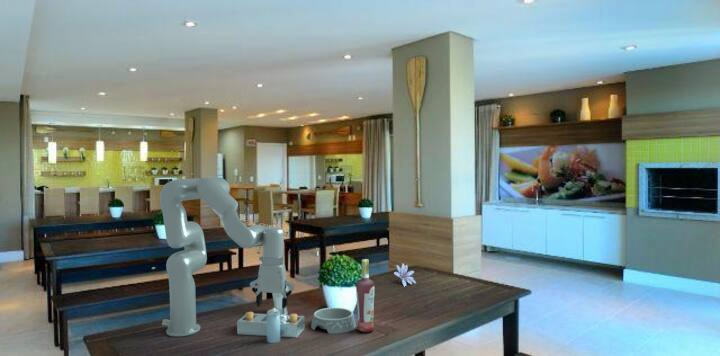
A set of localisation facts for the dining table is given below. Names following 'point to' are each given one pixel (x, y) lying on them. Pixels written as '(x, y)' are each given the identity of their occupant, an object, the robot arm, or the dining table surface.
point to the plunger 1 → (249, 316)
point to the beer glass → (279, 302)
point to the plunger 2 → (293, 318)
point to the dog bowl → (334, 320)
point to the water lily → (404, 274)
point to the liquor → (365, 300)
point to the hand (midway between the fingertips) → (271, 306)
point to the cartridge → (273, 326)
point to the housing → (260, 326)
